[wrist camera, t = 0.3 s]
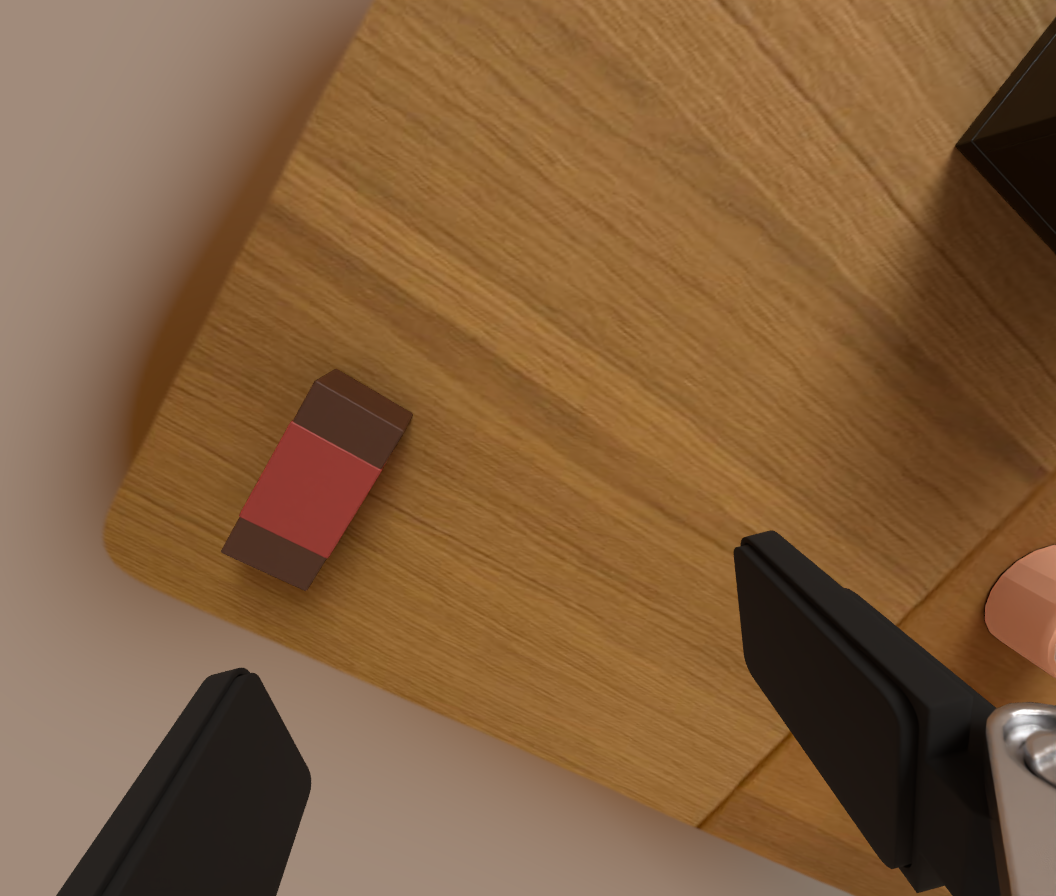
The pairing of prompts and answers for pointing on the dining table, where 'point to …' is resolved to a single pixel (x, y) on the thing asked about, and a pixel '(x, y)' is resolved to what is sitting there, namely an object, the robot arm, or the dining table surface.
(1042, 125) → the trash bin
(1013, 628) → the salt shaker
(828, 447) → the dining table surface
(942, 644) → the dining table surface
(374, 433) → the chocolate bar
